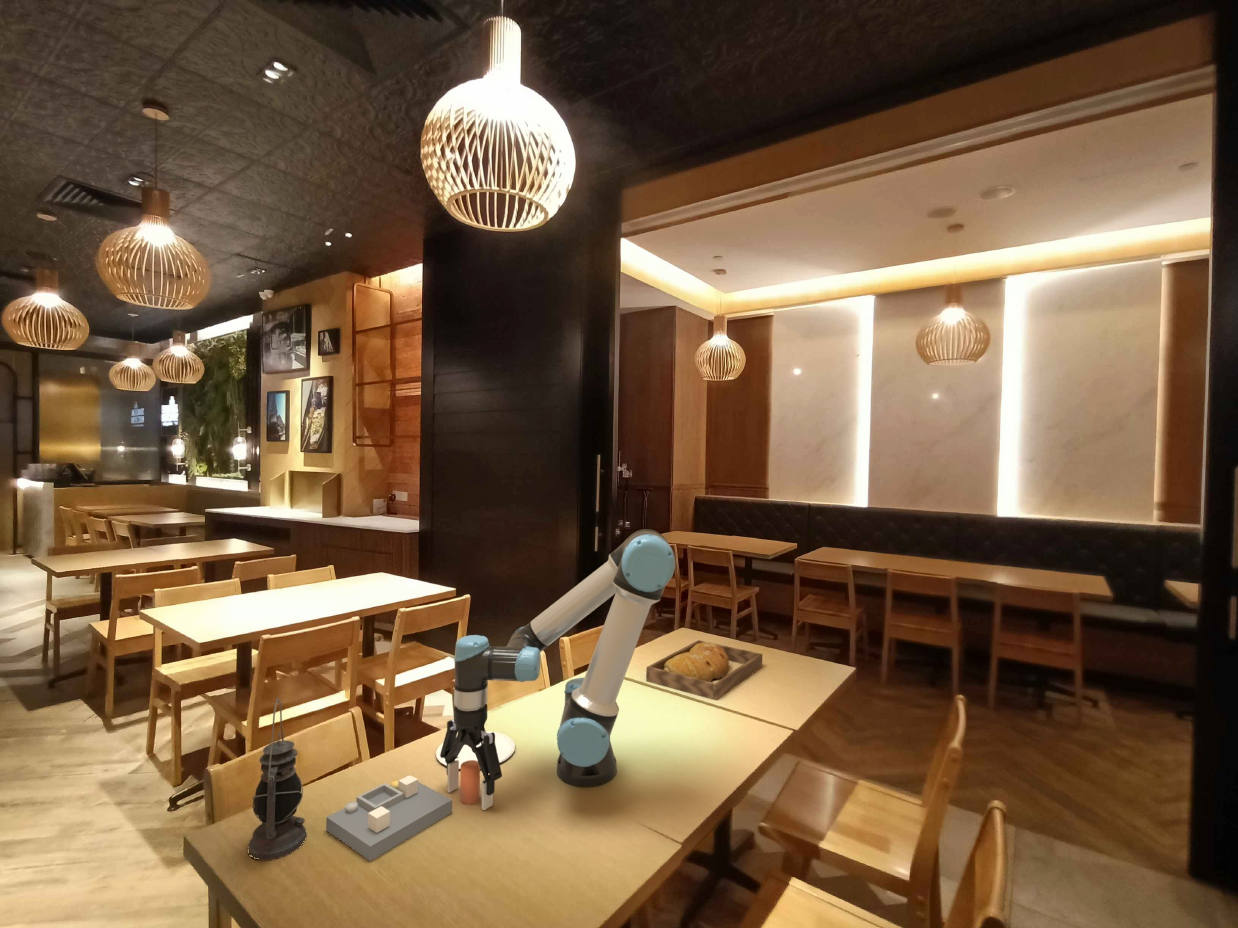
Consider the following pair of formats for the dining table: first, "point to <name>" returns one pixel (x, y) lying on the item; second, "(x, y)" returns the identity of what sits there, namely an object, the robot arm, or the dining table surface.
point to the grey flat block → (404, 818)
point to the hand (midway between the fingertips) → (469, 798)
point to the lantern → (277, 801)
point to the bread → (700, 662)
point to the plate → (502, 743)
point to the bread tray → (701, 687)
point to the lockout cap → (470, 782)
